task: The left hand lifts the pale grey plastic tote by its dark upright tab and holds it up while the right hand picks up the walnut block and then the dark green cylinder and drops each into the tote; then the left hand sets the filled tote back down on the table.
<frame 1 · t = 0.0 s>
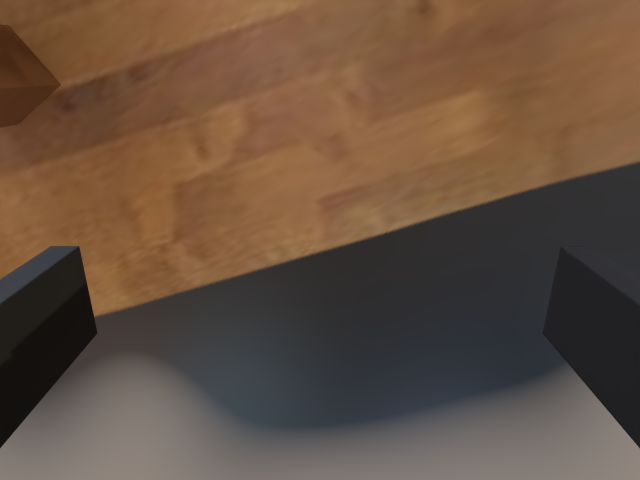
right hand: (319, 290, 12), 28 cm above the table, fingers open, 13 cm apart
walnut block: (13, 76, 37), on the table
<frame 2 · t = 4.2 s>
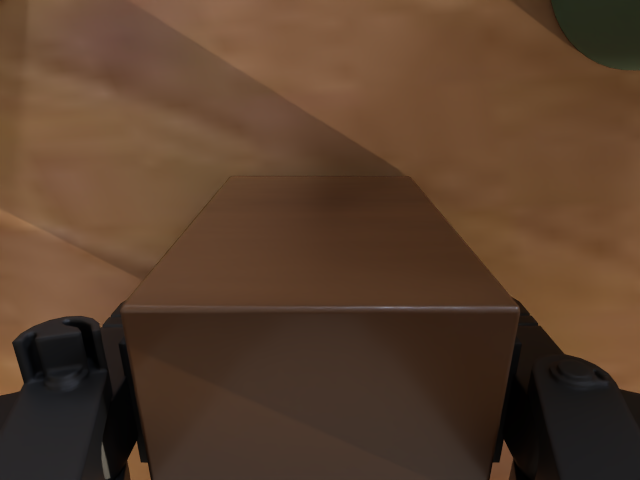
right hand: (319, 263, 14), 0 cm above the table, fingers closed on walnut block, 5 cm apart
walnut block: (320, 259, 14), on the table, touching right hand
when the right hand's fingers open (17 cm above the table, at t = 9.5 s): walnut block drops 6 cm, resting on tote.
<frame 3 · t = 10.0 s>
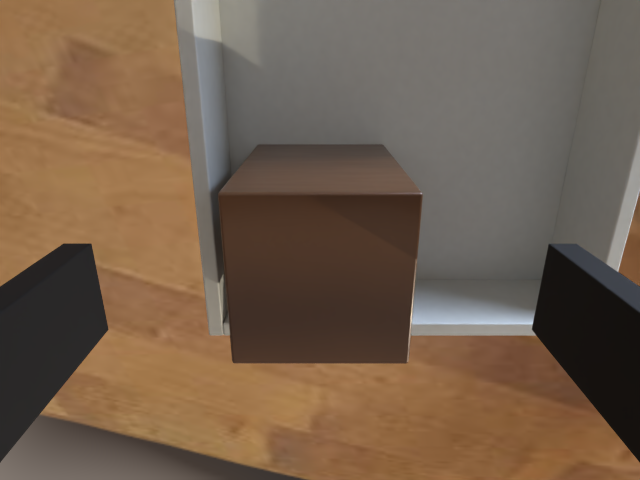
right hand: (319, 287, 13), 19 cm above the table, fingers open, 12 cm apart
walnut block: (320, 204, 20), point 11 cm above the table, touching tote
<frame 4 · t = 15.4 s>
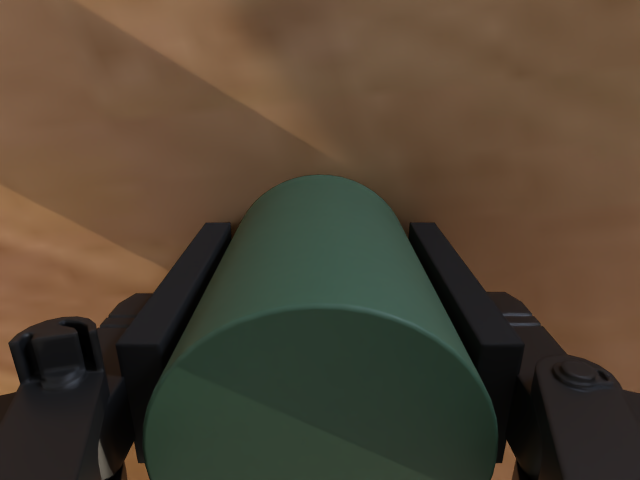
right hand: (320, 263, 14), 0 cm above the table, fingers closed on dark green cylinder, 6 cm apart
dark green cylinder: (320, 259, 14), on the table, touching right hand
when the right hand's fingers open (17 cm above the table, at t = 20.1 s): dark green cylinder drops 6 cm, resting on tote.
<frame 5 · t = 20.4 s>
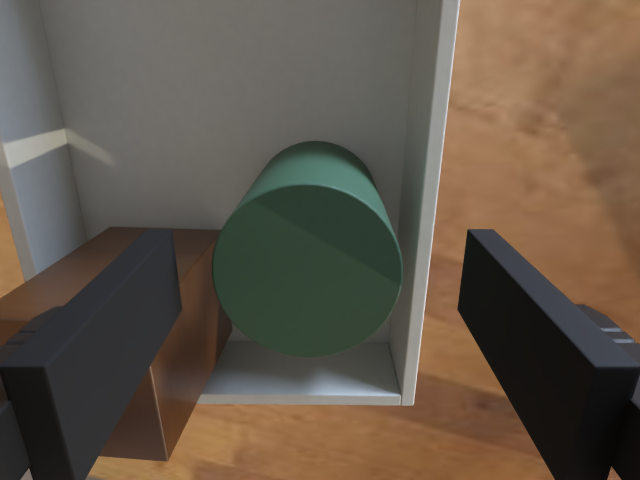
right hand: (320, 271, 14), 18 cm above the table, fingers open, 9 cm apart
walnut block: (173, 280, 22), point 11 cm above the table, tilted 6°, touching right hand, tote
dark green cylinder: (316, 202, 20), point 11 cm above the table, touching tote
tote: (237, 92, 20), point 10 cm above the table, touching dark green cylinder, left hand, walnut block
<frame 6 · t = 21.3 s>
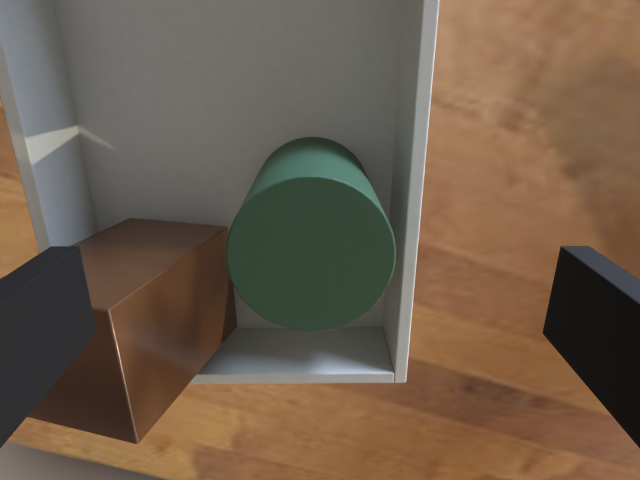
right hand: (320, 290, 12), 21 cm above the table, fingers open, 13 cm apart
walnut block: (184, 272, 23), point 12 cm above the table, tilted 17°, touching tote
dark green cylinder: (312, 194, 22), point 11 cm above the table, touching tote
tote: (238, 93, 21), point 10 cm above the table, touching dark green cylinder, left hand, walnut block
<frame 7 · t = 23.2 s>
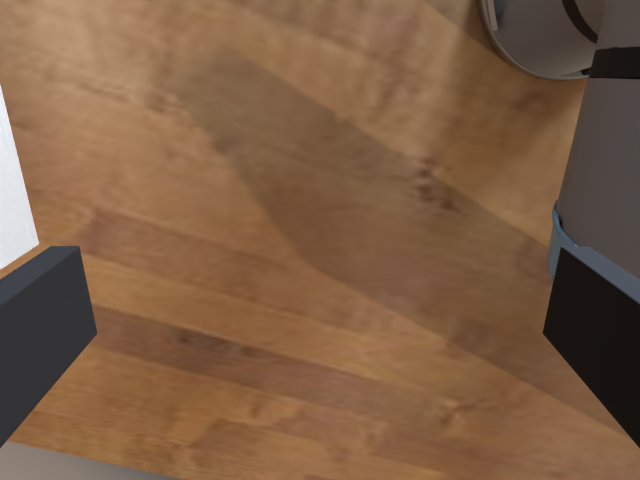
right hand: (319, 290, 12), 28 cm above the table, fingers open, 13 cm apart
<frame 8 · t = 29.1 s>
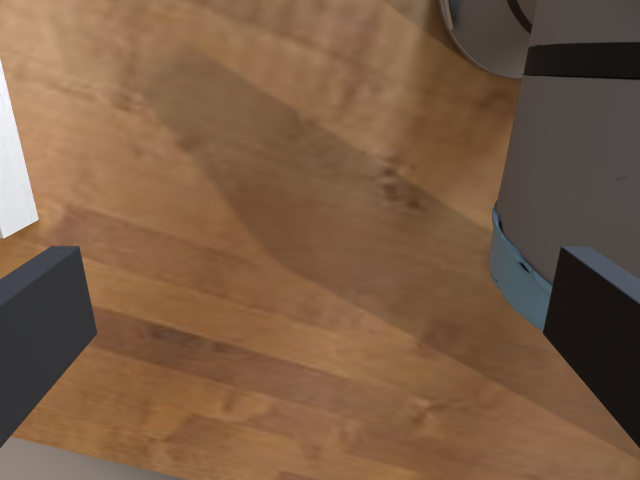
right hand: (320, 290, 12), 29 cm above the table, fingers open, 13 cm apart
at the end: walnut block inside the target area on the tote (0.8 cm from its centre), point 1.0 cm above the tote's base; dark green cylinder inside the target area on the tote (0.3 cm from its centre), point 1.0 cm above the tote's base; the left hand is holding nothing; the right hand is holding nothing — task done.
